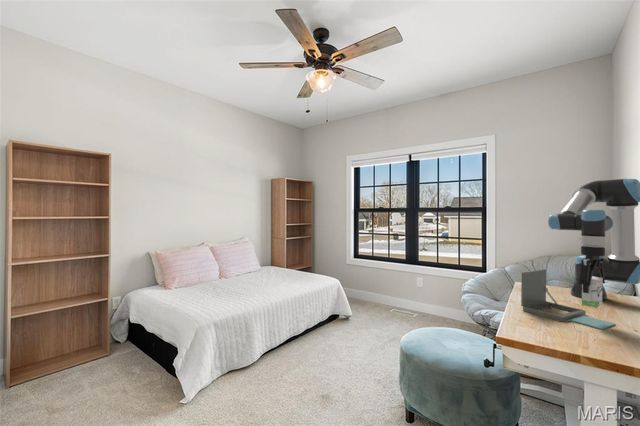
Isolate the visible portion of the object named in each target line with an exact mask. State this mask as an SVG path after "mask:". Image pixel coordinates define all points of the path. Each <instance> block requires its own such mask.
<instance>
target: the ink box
mask: <svg viewBox="0 0 640 426" xmlns="http://www.w3.org/2000/svg"><path fill="white" fill-rule="evenodd" d="M590 285H591V302H590V301H585V300H582V299H581V306H585V307H590V308H591V307H592V308H599V307H601V306H602V305H603V300H602V289H603V286H604V283H603V278H601V277H595V276H592V279H591V283H590Z"/></svg>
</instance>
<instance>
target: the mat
mask: <svg viewBox="0 0 640 426" xmlns="http://www.w3.org/2000/svg"><path fill="white" fill-rule="evenodd" d="M568 321H569V322H572V323H576V324H579V325H584V326H586V327H590V328H594V329H596V330H597V329H598V330H601V331H603V330H606V329H608V328H611V327H613V326H616V323H614V322H610V321H606V320H602V319H600V318H599V319H598V318H595V317H591V316H587V315H584V316H583V315H582V316H579V317H575V318H572V319H569V320H568Z"/></svg>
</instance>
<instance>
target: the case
mask: <svg viewBox="0 0 640 426" xmlns="http://www.w3.org/2000/svg"><path fill="white" fill-rule="evenodd" d="M520 285H521V287H520V289H521V290H520V291H521V295H520V296H521V297H520V299H521V300H520V302H521V304H520V305H521V307H522V311H523V312H525V313H526V312H527V313H530V314H533V315H537V316H541V317H544V318H548V319H551V320H555V321H558V322H562V323H563V322H566V321H569V319H572V318H575V317H579V316H582V315H583V316H586V310H585V309H580V308H577V307H572V306H568V305H565V304H559V303H558V302H557V301H556V299H555V298H554V297H553V296H552V294H551V293H550V292H549V288H548V287H547V269H545V268H543V269H537V270H530V271H529V270H528V271H522V272H521V284H520ZM547 295H548V296H549V297H550V299H551V300H552V302H551V301H548V300H547ZM547 308H554V309H558V310H561V311H565V312H567V313H563V314H560V315H558V314H554V313H552V312H547V311H543V310H542V309H547Z"/></svg>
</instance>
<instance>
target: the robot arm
mask: <svg viewBox="0 0 640 426" xmlns="http://www.w3.org/2000/svg"><path fill="white" fill-rule="evenodd" d="M594 203H606V204H605V206H606V207H607V208H608V209H610V210H609V211H610V215H609V216H608V215H606V210H603V209H587V208H588V206H589V205H592V204H594ZM639 203H640V181H639V180H638V179H636V178H620V179H606V180H594V181H590V182H588V183H585V184H583V185H581V186H580V187H578V188H577V189H576V190H574V191H573V193H572V195H571V198H570V200H569V201H568V203H566V205H565V206H564V207H563V208H562V210H561V211H560V212H559V214H558V213H553V214H550V215H549V216H548V218H547V219H548V221H547V224H548V227H549V229H550V230H558V231H578V232H580V231H581V232H580V233H581V236H580V238H579V239H580V240H581V241H580V242H581V243H580V244H581V246H580V254H581V255H578V256H576V257H575V263H574V265H575V266H574V282H573V285H572V287H571V290H570V294H571V296H574V297H577V298H580V299H581V301H582V300H585V301H590V302H591V285H590V283H591V279H592V276H595V277H601V278H603V284H605V283H606V281H609V282H614V283H623V284H631V285H639V284H640V257H639V256H638V255H636V241H635V240H636V237H635V236H636V235H635V233H636V231H635V229H636V228H635V209H636V207H638V206H639ZM609 230H610V240H611V241H610V242H611V244H610V247H611V253H609V254H608V255H607V258H605V255H606V248H605V246H606V232H607V231H609ZM607 300H608V294H607V291H606V289H605V287H604V285H603V289H602V301H607Z"/></svg>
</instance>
